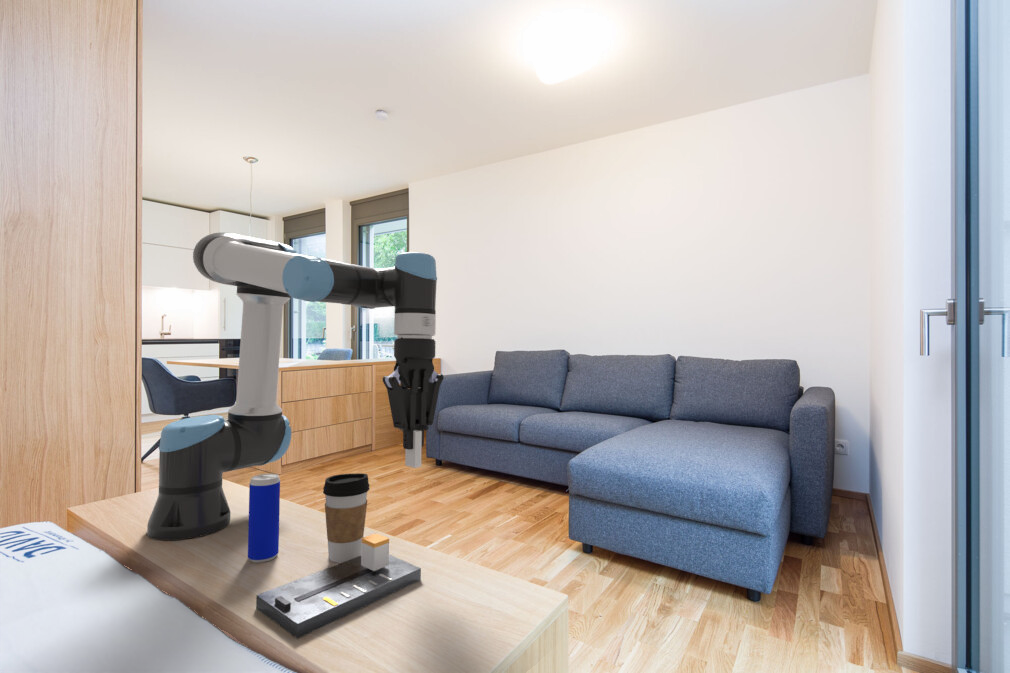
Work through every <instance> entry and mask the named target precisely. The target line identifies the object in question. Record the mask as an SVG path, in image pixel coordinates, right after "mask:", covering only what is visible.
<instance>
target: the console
mask: <svg viewBox="0 0 1010 673" xmlns="http://www.w3.org/2000/svg"><path fill="white" fill-rule="evenodd" d="M421 575H422V568H421V567H419V566H417V565H415V564H412V563H410V562H407V561H406V560H403V559H401V558H398V557H396V556H393V555H391V554H389V565H388V566H385V567H383V568H380V569H378V570H376V571H373V570H371V569H369V568H366V567H364V566H362V565H361V556H358V557H356V558H353V559H350V560H348V561H345V562H342V563H338V564H337V563H336V564H335V565H333V566H330V567H326V568H324V569H322V570H321V569H320V570H318V571H316V572H314V573H310V574H308V575H306V576H303V577H300V578H298V579H296V580H292V581H290V582H286V583H285V584H282V585H279V586H277V587H273V588H272V589H269V590H266V591H263V592H261V593H258V594H256V599H255V600H256V601H255V603H256V604H255V609H256V610H257V611H259V612H261V613H262V614H263V615H265V617H266V618H268V619H270V620H271V621H272V622H274V623H275V624H276V625H277V626H279V627H281V628H282V629H283V630H285V631H286V632H287V633H289V634H290V635H291V636H293V637H294V638H295V639H297V640H298V639H300V638H302V637H304V636H307V635H308V634H311V633H312V632H315V631H317V630H319V629H321V628H323V627H325V626H327V625H329V624H332V623H333V622H335V621H338V620H339V619H342V618H344V617H346V616H348V615H350V614H352V613H354V612H356V611H359V610H360V609H362V608H364V607H367V606H369V605H371V604H374V603H375V602H377V601H379V600H382V599H383V598H386V597H388V596H390V595H393V594H394V593H396V592H399V591H400V590H401V591H402V590H403V589H405V588H406V587H409V586H411V585H413V584H415V583H418V582H420V581H421V579H422V578H421V577H422V576H421Z"/></svg>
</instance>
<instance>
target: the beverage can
mask: <svg viewBox="0 0 1010 673" xmlns="http://www.w3.org/2000/svg"><path fill="white" fill-rule="evenodd" d="M248 486H249V489H248V490H249V491H248V528H247V530H248V533H247V534H248V535H247V558H248V560H249V561H250V562H251V563H257V564H258V563H259V564H260V563H261V564H262V563H266V562H269V561H272V560H274V559H275V558H276V557H277V555H278V554H279V548H280V546H279V545H280V543H279V542H280V509H281V507H280V504H281V502H280V500H281V478H280V476H279V474H276V473H263V474H257V475H256V474H255V475H254V476H252V477H251V479H250V480H249V485H248Z"/></svg>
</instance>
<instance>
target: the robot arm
mask: <svg viewBox="0 0 1010 673" xmlns="http://www.w3.org/2000/svg"><path fill="white" fill-rule="evenodd" d="M195 244H196V245H195V246H194V248H193V252H192V260H193V264H194V267H195V268H196V269H197V271H198V272H199V273H200V274H201V275H202V276H203V277H204V278H206V279H208V280H210V281H212V282H215V283H218V284H222V285H227V286H234V287H236V295H237V296H238V298H239V299H240V300H241V301H242V315H241V332H240V343H239V355H238V356H239V357H238V358H239V360H238V371H237V372H238V373H237V374H238V375H237V388H236V400H235V404H234V405H232V406H231V407H230V408H228V412H227V414H228V415H227V419H225V418H224V417H223V415H219V414H206V415H201V416H200V415H197V416H192V417H186V418H182V419H178V420H175V421H172V422H170V423H168V424H167V425H165V426H164V427H163V428H162V429H161V433H160V439H159V440H160V441H159V445H158V451H159V454H158V456H159V458H158V460H159V462H158V463H159V464H158V467H159V468H158V495H157V498H156V500H155V504H154V505H153V509H152V511H151V513H150V516H149V518H148V521H147V526H146V527H147V529H146V534H147V537H149V538H151V539H153V540H159V541H178V540H180V541H181V540H186V539H192V538H198V537H202V536H205V535H209V534H212V533H215V532H218V531H220V530H222V529H225V528H226V527H227V526H228V525H230V523H231V509H230V506H229V503H228V500H227V497H226V494H225V492H224V489H223V475H224V474H223V473H227V472H232V471H237V470H243V469H246V468H252V467H256V466H259V467H260V466H264V465H267V464H269V463H274V462H276V461H278V460H280V459H281V458H282V457H283V456H284V455H285V454H286V452H287V451H288V449H289V447H290V445H291V444H290V443H291V441H292V440H291V439H292V426H290V425H291V424H290V420H289V419H288V417H286V416H285V415H284V414H283V408H282V407H280V406H279V404H278V403H277V395H278V379H279V368H280V366H279V364H280V351H281V340H282V339H281V338H282V324H283V311H284V310H283V309H284V305H285V304H286V303H287V302H289V301H290V300H291V298H292V299H296V300H301V301H305V302H309V303H310V302H311V303H316V302H318V303H319V302H320V303H329V304H341V305H347V306H354V307H356V308H357V309H358V308H359V309H370V310H372V309H374V310H375V309H376V308H388V307H390V308H391V307H392V308H393V307H394V320H393V321H394V322H393V325H394V326H393V328H394V330H393V334H394V335H395V336H396V337H397V338H395V339H394V340H393V357H394V359H395V364H394V367H393V371H392V373H391V374H389V375H384V376H383V377H382V378H381V379H382V382H383V384H384V386H385V388H386V391H387V392H386V393H387V396H388V402H389V407H390V413H391V417H392V424H393V427H394V429H399V430H400V431H402V447H403V449H404V450H405V452H404V453H405V458H404V460H405V461H404V462H405V463H404V466H405V467H410V468H412V469H413V468H414V469H416V468H421V467H422V448H424V444H425V431H428V430H429V428H430V427H429V426H432V425H433V424H434V418H435V415H436V414H435V413H436V408H437V403H438V399H439V391H440V387H441V385H442V384H443V380H444V375H443V374H441V373H438V372H437V371H436V370H435V366H434V362H433V359H435V357H436V340H435V339H434V338H433V337H434V336H436V330H437V328H436V326H437V325H436V324H437V323H436V321H437V318H436V317H437V315H436V314H437V313H436V306H437V305H436V304H437V303H436V301H437V299H436V298H437V280H438V277H437V276H438V275H437V263H436V259H435V257H434V256H433V255H431V254H430V253H425V252H418V251H415V252H414V251H408V252H407V251H405V252H401V253H399V254H397V255H396V256H395V262H394V266H393V267H383V268H377V267H376V268H375V267H371V266H364V265H359V264H353V263H347V262H342V261H339V260H338V261H337V260H333V259H327V258H322V257H319V256H314V255H306V254H305V255H304V254H299V253H297V251H296V250H295V248H293V247H292V246H290V245H288V244H285V243H281V242H278V241H276V240H275V241H274V240H268V239H263V238H258V237H253V236H248V235H242V234H239V233H234V232H214V233H211V234H208V235H206V236H204V237H202V238H201V239H199V240H198V242H197V243H195Z"/></svg>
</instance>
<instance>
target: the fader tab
mask: <svg viewBox="0 0 1010 673" xmlns="http://www.w3.org/2000/svg"><path fill="white" fill-rule="evenodd" d="M389 555H390V538H389V537H387V536H384V535H382V534H379V533H378V532H376V533H373V534H369V535H367V536H363V538H362V542H361V565H362V566H364V567H366V568H369V569H371V570H373V571H376V570H378V569H380V568H383V567H385V566H388V565H389Z"/></svg>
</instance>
